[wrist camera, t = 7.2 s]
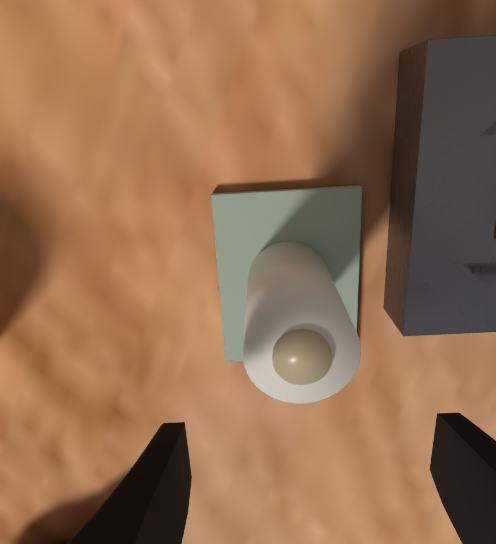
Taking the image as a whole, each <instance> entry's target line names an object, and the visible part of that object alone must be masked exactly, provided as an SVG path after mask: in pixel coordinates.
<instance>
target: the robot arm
mask: <svg viewBox="0 0 496 544" xmlns="http://www.w3.org/2000/svg"><path fill="white" fill-rule="evenodd" d="M430 471H431V474H432V477H433V480H434V482H435V485H436V488H437V491H438V493H439V496H440V498H441V501H442V503H443V506H444V508H445V510H446V512H447V514H448V516H449V518H450V520H451V522H452V524H453V526H454V528H455V530H456V532H457V534H458V536H459V538H460V540H461V542H462V543H463V544H496V441H495V440H494V439H493V438H491V437H490V436H489V435H488V434H486V433H485V432H484V431H482V430H481V429H480V428H479V427H477V426H476V425H475V424H473V423H472V422H471V421H470V420H468V419H467V418H466V417H464V416H463V415H461V414H460V413H438V414H437V419H436V427H435V434H434V442H433V449H432V456H431V464H430ZM191 478H192V476H191V468H190V460H189V453H188V445H187V437H186V429H185V422H181V423H163V424H162V425H161V426H160V428H159V429H158V431H157V432H156V434H155V435H154V437H153V438H152V440H151V441H150V443H149V444H148V446H147V447H146V449H145V450H144V452H143V453H142V454H141V456H140V457H139V459H138V460H137V462H136V463H135V464H134V466H133V467H132V468H131V470H130V471H129V472H128V474H127V475H126V476H125V478H124V479H123V480H122V482H121V483H120V484H119V485H118V487H117V488H116V489H115V490H114V492H113V493H112V494H111V495H110V496H109V498H108V499H107V500H106V501H105V502H104V504H103V505H102V506H101V507H100V509H99V510H98V511H97V512H96V513H95V514H94V515H93V517H92V518H91V519H90V520H89V521H88V522H87V523H86V524H85V525H84V527H83V528H82V529H81V530H80V531H79V532H78V533H77V534H76V535H75V536H74V537H73V538H72V539H71V540H70V541H69V542H68V543H67V544H181V543H182V538H183V534H184V529H185V524H186V519H187V515H188V506H189V498H190V488H191Z"/></svg>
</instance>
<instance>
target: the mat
mask: <svg viewBox="0 0 496 544" xmlns="http://www.w3.org/2000/svg"><path fill="white" fill-rule="evenodd" d="M211 200H212V211H213V222H214V234H215V245H216V256H217V268H218V279H219V291H220V302H221V313H222V325H223V336H224V347H225V359H226V361H243V344H244V330H245V315H246V300H247V286H248V274H249V269H250V266H251V264H252V262H253V260H254V259H255V257H256V256H257V255H258V254H259V253H260V252H261V251H262V250H263V249H265V248H266V247H268V246H270V245H272V244H275V243H278V242H282V241H295V242H300V243H303V244H306V245H308V246H310V247H311V248H313V249H314V250H316V251H317V252H318V253H319V254H320V255H321V257H322V258H323V260H324V262H325V264H326V266H327V268H328V270H329V273H330V275H331V277H332V279H333V281H334V284H335V286H336V288H337V290H338V292H339V295H340V297H341V299H342V301H343V303H344V306H345V308H346V310H347V312H348V314H349V317H350V319H351V321H352V323H353V325H354V328H355V330H356V332H357V308H358V283H359V257H360V231H361V206H362V186H360V185H351V186H333V187H315V188H297V189H280V190H262V191H244V192H226V193H212V194H211Z"/></svg>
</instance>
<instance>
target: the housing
mask: <svg viewBox="0 0 496 544" xmlns="http://www.w3.org/2000/svg"><path fill="white" fill-rule="evenodd" d="M495 223H496V35H494V36H479V37H463V38H448V39H432V40H427V41H424V42H422V43H420V44H418V45H415V46H413V47H411V48H409V49H407V50H404V51H402V52H400V57H399V73H398V89H397V105H396V120H395V136H394V152H393V168H392V184H391V199H390V215H389V231H388V247H387V263H386V279H385V294H384V309H385V311H386V312H387V314H388V315H389V316H390V318H391V319H392V321H393V322H394V323H395V325H396V326H397V328H398V329H399V331H400V332H401V333H402V335H403V336H417V335H439V334H460V333H482V332H496V239H495V238H494V237H493V236H494V230H495Z"/></svg>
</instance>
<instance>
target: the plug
mask: <svg viewBox="0 0 496 544" xmlns="http://www.w3.org/2000/svg"><path fill="white" fill-rule="evenodd" d="M360 356H361V346H360V340H359V337H358V334H357V332H356V330H355V328H354V325H353V323H352V321H351V319H350V317H349V314H348V312H347V310H346V308H345V306H344V303H343V301H342V299H341V297H340V295H339V292H338V290H337V288H336V286H335V284H334V281H333V279H332V277H331V275H330V273H329V270H328V268H327V266H326V264H325V262H324V260H323V258H322V257H321V255H320V254H319V253H318V252H317V251H316V250H314V249H313V248H311V247H310V246H308V245H306V244H303V243H300V242H295V241H282V242H278V243H275V244H272V245H270V246H268V247H266V248H265V249H263V250H262V251H261V252H260V253H259V254H258V255H257V256H256V257H255V259H254V260H253V262H252V264H251V266H250V269H249V274H248V286H247V300H246V315H245V330H244V344H243V361H244V365H245V369H246V371H247V373H248V375H249V377H250V379H251V380H252V381H253V383H254V384H255V385H256V386H257V387H258V388H259V389H260V390H261V391H263V392H264V393H266V394H267V395H269V396H271V397H273V398H275V399H278V400H281V401H284V402H290V403H311V402H316V401H319V400H323V399H325V398H328V397H330V396H332V395H334V394H335V393H337V392H338V391H340V390H341V389H342V388H343V387H344V386H345V385H347V383H348V382H349V381H350V380H351V379H352V377H353V376H354V374H355V372H356V370H357V368H358V365H359V362H360Z"/></svg>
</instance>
